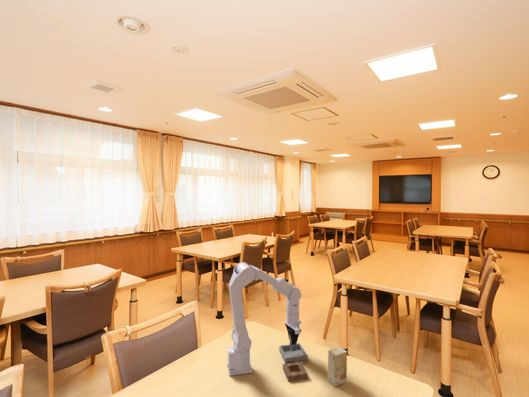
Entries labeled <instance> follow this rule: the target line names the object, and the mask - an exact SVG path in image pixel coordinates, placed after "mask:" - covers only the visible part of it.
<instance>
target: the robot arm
mask: <svg viewBox="0 0 529 397" xmlns="http://www.w3.org/2000/svg"><path fill="white" fill-rule="evenodd" d="M258 280H261V281H263V282H265V283H267V284H269V285H270V286H272V290H274V291H276V292H278V293H280V294H281V295H283V296H284V297H286V298H285V299H286V300H285V301H286V302H285V303H286V305H285V306H286V308H285V309H286V312H285V313H286V315H285V316H286V317H285V323H284V326H285V328H286V331H287V334H288V340H289V341H290V337H291V343H292V345H294V344H297V343H298V339H299V336H300V334H301V332H302V329H301V328H300V325H301V324H302V323H303V321H302V320H300V301H301V300H300V299H301V298H302V295H303V294H302V293H301V290H300V288H298V287H297V286H295V285H294V284H293V283H292V282H288V281H286V279H285V278H284V277H277V278H275V277H274V276H272V275H270V274H268V273H267V272H265V271H263V270H262V269H260V268H259V267H256V266H254V265H252V264H248V263H247V262H243V261H242V262H239V263H238V264H237V265H236V266H235V267H234V268H233V272H232V275H231V278H230V280H229V282H228V292H229V299H230V308H231V315H232V323H233V324H232V325H233V326H232V331H231V336H230V337H231V339H232V341H233V344H232V347H230V348H227V362H226V363H227V365H226V366H227V369H228V370H227V371H228V375H229V376H238V375H244V374H251V373H253V370H252V366H251V365H252V364H251V350H250V349H251V348H252V339H251V338H250V337H249V332H248V330H247V329H248V328H247V325H246V318H245V311H244V310H245V309H244V301H243V293H242V290H243V289H244V288H245V287H246V286H247V285H249V284H251V283H252V282H253V281H255V282H256V281H258Z"/></svg>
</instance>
